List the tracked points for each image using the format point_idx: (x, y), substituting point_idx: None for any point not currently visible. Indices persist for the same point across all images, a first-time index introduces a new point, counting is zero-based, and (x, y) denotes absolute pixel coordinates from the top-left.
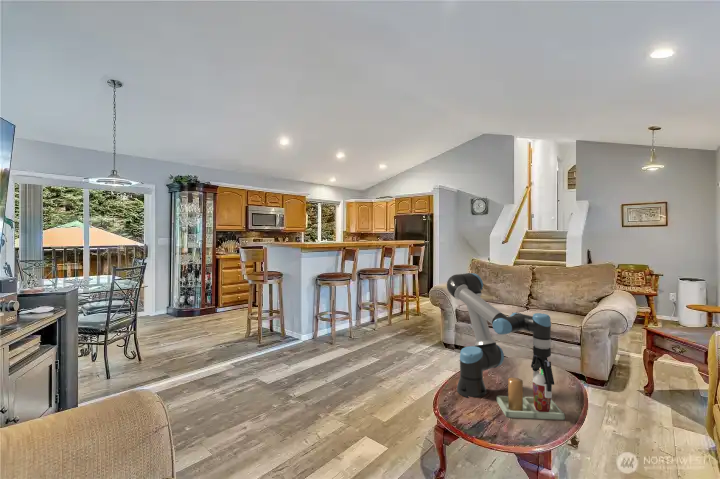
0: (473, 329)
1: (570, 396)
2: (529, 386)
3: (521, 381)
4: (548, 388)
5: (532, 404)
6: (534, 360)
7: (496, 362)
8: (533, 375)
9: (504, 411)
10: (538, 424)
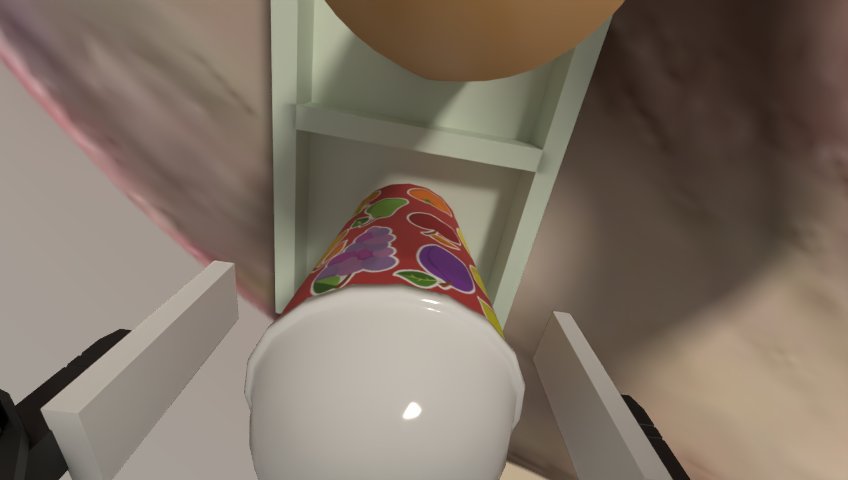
0: None
1: (546, 441)
2: (733, 325)
3: (383, 16)
4: (66, 369)
5: (488, 204)
6: None
7: None
8: (610, 404)
9: None
10: (243, 101)
